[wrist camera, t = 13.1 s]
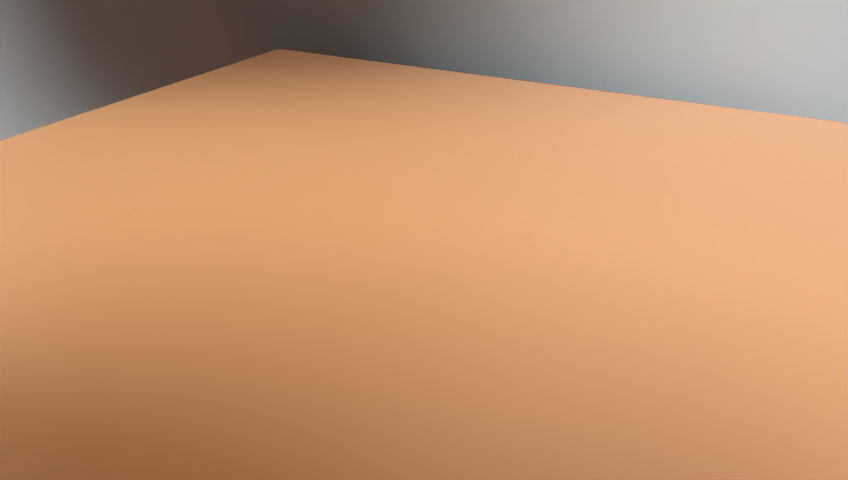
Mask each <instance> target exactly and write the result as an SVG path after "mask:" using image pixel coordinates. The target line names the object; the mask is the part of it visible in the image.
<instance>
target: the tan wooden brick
mask: <svg viewBox="0 0 848 480" xmlns="http://www.w3.org/2000/svg"><path fill="white" fill-rule="evenodd" d="M0 480H848V126H847V124H846V123H842V122H835V121H827V120H819V119H812V118H804V117H796V116H789V115H781V114H773V113H766V112H758V111H751V110H743V109H735V108H728V107H720V106H712V105H705V104H697V103H689V102H682V101H674V100H666V99H659V98H651V97H643V96H636V95H628V94H621V93H613V92H605V91H598V90H590V89H582V88H575V87H567V86H559V85H552V84H544V83H536V82H529V81H521V80H514V79H506V78H498V77H491V76H483V75H475V74H468V73H460V72H452V71H445V70H437V69H429V68H422V67H414V66H406V65H399V64H391V63H384V62H376V61H368V60H361V59H353V58H345V57H338V56H330V55H322V54H315V53H307V52H299V51H292V50H284V49H276V50H273V51H270V52H267V53H264V54H261V55H258V56H255V57H252V58H249V59H246V60H243V61H240V62H237V63H234V64H231V65H228V66H225V67H222V68H219V69H216V70H213V71H210V72H207V73H204V74H201V75H198V76H195V77H191V78H188V79H185V80H182V81H179V82H176V83H173V84H170V85H167V86H164V87H161V88H158V89H155V90H152V91H149V92H146V93H143V94H140V95H137V96H134V97H131V98H128V99H125V100H122V101H119V102H116V103H113V104H110V105H107V106H104V107H101V108H98V109H94V110H91V111H88V112H85V113H82V114H79V115H76V116H73V117H70V118H67V119H64V120H61V121H58V122H55V123H52V124H49V125H46V126H43V127H40V128H37V129H34V130H31V131H28V132H25V133H22V134H19V135H16V136H13V137H10V138H7V139H4V140H1V141H0Z"/></svg>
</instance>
